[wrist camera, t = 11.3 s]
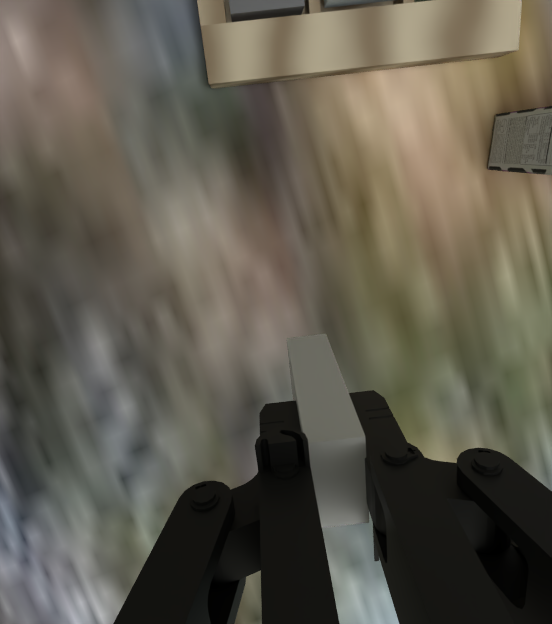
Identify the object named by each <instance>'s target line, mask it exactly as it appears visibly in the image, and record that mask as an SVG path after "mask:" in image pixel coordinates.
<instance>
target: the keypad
mask: <svg viewBox="0 0 552 624" xmlns="http://www.w3.org/2000/svg"><path fill="white" fill-rule="evenodd" d="M304 2H305V6H304V9H303V12H302V15H294V16H285V17H276V18H267V19H258V20H249V21H239V22H232V19H231V13H230V5H229V0H197V3H198V10H199V17H200V24H201V32H202V39H203V46H204V53H205V60H206V67H207V74H208V82H209V85H210V86H211V88H212V89H214V88H223V87H232V86H241V85H250V84H259V83H268V82H277V81H286V80H295V79H304V78H313V77H322V76H331V75H340V74H349V73H358V72H367V71H376V70H385V69H394V68H404V67H413V66H422V65H431V64H440V63H449V62H458V61H467V60H476V59H485V58H494V57H500V56H503V55H506V54H509V53H511V52H514V51H517V50H518V49H519V35H520V20H521V6H522V0H431V1H422V2H414V0H393V1H384V2H375V3H366V4H357V5H348V6H338V7H329V8H324V0H304Z"/></svg>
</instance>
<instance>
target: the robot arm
mask: <svg viewBox="0 0 552 624" xmlns="http://www.w3.org/2000/svg"><path fill="white" fill-rule="evenodd" d="M287 346H288V356H289V365H290V375H291V384H292V394H293V401H287V402H279V403H270V404H265V406H264V407H263V409H262V410H261V412H260V437H259V438H258V439H257V440H256V444H255V450H256V457H257V464H258V473H257V475H256V476H255V477H254V478H253V479H252V480H250V481H249V482H247V483H246V484H244V485H241V486H239V487H237V488H234V489H231V490H230V488H229V487H228V486H227V485H225V484H224V483H222V482H217V481H204V482H201V483H198V484H195V485H193V486H191V487H190V488H188V489H187V490H185V491H184V493H183V494H182V495H181V496H180V498H179V499H178V501H177V503H176V505H175V507H174V509H173V511H172V513H171V515H170V516H169V518H168V520H167V522H166V524H165V526H164V528H163V530H162V532H161V534H160V536H159V538H158V539H157V541H156V543H155V545H154V547H153V549H152V551H151V553H150V555H149V557H148V559H147V560H146V562H145V564H144V566H143V568H142V570H141V572H140V574H139V576H138V578H137V580H136V582H135V583H134V585H133V587H132V589H131V591H130V593H129V595H128V597H127V599H126V601H125V603H124V604H123V606H122V608H121V610H120V612H119V614H118V616H117V618H116V620H115V622H114V624H234V623H235V619H236V615H237V612H238V608H239V605H240V601H241V597H242V594H243V590H244V586H245V582H246V576H249V575H251V574H253V573H255V572H258V571H260V570H261V597H262V624H339V620H338V614H337V609H336V603H335V598H334V592H333V587H332V581H331V576H330V571H329V565H328V560H327V554H326V549H325V543H324V538H323V532H322V528H327V527H335V526H343V525H352V524H360V523H369V511H370V515H371V518H372V521H373V537H374V559H375V561H379V558H380V561H381V564H382V568H383V571H384V574H385V578H386V581H387V584H388V587H389V591H390V594H391V597H392V601H393V604H394V607H395V611H396V614H397V617H398V620H399V624H552V491H550V490H549V489H548V488H547V487H545V486H544V485H543V484H542V483H540V482H539V481H538V480H537V479H535V478H534V477H533V476H532V475H530V474H529V473H528V472H527V471H525V470H524V469H523V468H522V467H520V466H519V465H518V464H517V463H515V462H514V461H513V460H512V459H510V458H509V457H507V456H506V455H504V454H502V453H500V452H498V451H494V450H491V449H485V448H473V449H468V450H466V451H464V452H462V453H461V454H460V455H459V457H458V458H457V463H451V462H441V461H435V460H431V459H428V458H425V457H424V456H423V454H422V453H421V452H420V450H419V449H418V448H417V447H415V446H413V445H411V444H410V443H407V441H406V439H405V437H404V435H403V433H402V431H401V429H400V427H399V425H398V423H397V422H396V420H395V418H394V417H393V414H392V412H391V410H390V409H389V406H388V404H387V402H386V400H385V398H384V397H382V396H381V395H379V394H378V393H377V392H375V391H374V390H372V391H363V392H355V393H348V390H347V388H346V385H345V382H344V380H343V377H342V375H341V372H340V369H339V367H338V364H337V362H336V359H335V356H334V354H333V351H332V349H331V346H330V344H329V341H328V338H327V336H326V334H319V335H311V336H302V337H293V338H287Z"/></svg>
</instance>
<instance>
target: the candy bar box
mask: <svg viewBox="0 0 552 624" xmlns="http://www.w3.org/2000/svg"><path fill="white" fill-rule="evenodd" d="M488 170H498V171H509V172H521V173H532V174H546V175H552V106H549V107H541V108H535V109H528V110H521V111H515V112H508V113H501V114H496V115H495V119H494V125H493V135H492V144H491V149H490V155H489V164H488Z"/></svg>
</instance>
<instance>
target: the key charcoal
mask: <svg viewBox="0 0 552 624" xmlns="http://www.w3.org/2000/svg"><path fill="white" fill-rule="evenodd" d="M229 5H230V13H231V19H232V22H239V21H249V20H258V19H267V18H276V17H285V16H294V15H302V12H303V9H304V6H305V2H304V0H229Z"/></svg>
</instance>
